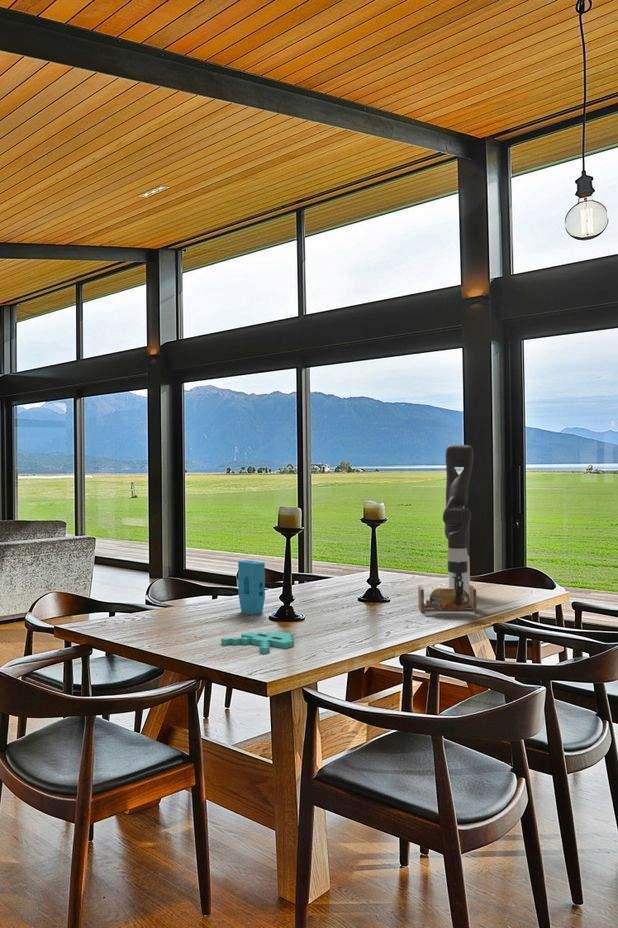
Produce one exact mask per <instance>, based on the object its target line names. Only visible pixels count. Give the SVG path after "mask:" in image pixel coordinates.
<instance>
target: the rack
mask: <svg viewBox="0 0 618 928" xmlns="http://www.w3.org/2000/svg"><path fill="white" fill-rule="evenodd" d="M417 588H418V592H417V593H418V595H417V596H418V602H417V603H418V610H419V611H420V613H422V614H423V613H424V612H474V613H475V614H476V613H477V589H476V588H475V587H474V585H472V584H470V585H469V599H470V600H469V604H468V606H467V607H466V608H465V609H463V610H446V611H439V610H436V609H434V608H433V607H432V605H425V604H426V603H425V589H424V587H423V586H422V585H421V584H420V585H419V584H418V587H417Z"/></svg>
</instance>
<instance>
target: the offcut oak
mask: <svg viewBox="0 0 618 928" xmlns="http://www.w3.org/2000/svg"><path fill="white" fill-rule="evenodd" d="M425 604H426V605H431V603H430V598H429V599H426V600H425Z"/></svg>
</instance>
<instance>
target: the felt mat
mask: <svg viewBox="0 0 618 928" xmlns="http://www.w3.org/2000/svg"><path fill="white" fill-rule="evenodd" d="M424 615H425V617H427V618H436V617H437V618H440V617H441V618H445V617H446V618H451V617H452V618H453V617H454V618H460V617H462V618H465V617H466V618H467V617H469V618H472V617H473V618H477V614H476V613H474V612H424Z"/></svg>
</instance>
